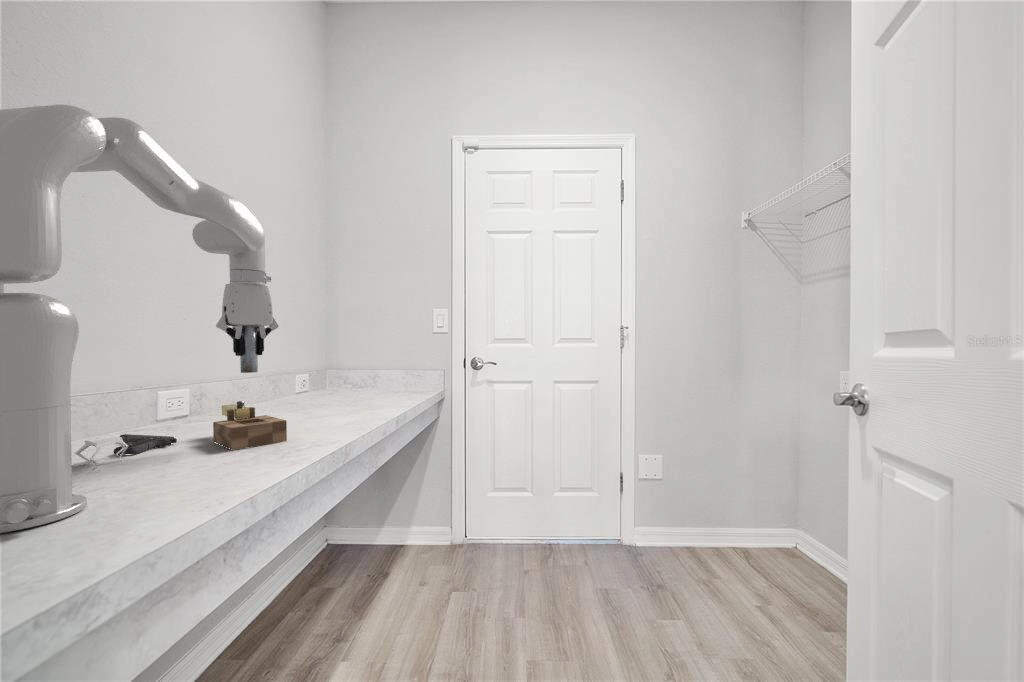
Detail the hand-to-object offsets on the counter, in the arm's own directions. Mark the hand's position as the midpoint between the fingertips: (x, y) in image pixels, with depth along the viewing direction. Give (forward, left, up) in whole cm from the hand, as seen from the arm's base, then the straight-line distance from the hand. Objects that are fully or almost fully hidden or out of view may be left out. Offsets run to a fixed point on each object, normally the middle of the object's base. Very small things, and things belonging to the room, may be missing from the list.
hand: (248, 354), depth 111 cm
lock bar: (+9, 0, -16) cm, 18 cm away
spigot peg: (0, 0, -4) cm, 4 cm away
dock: (0, 0, -21) cm, 21 cm away
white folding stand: (+3, +27, -21) cm, 34 cm away
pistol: (+17, +20, -22) cm, 34 cm away
